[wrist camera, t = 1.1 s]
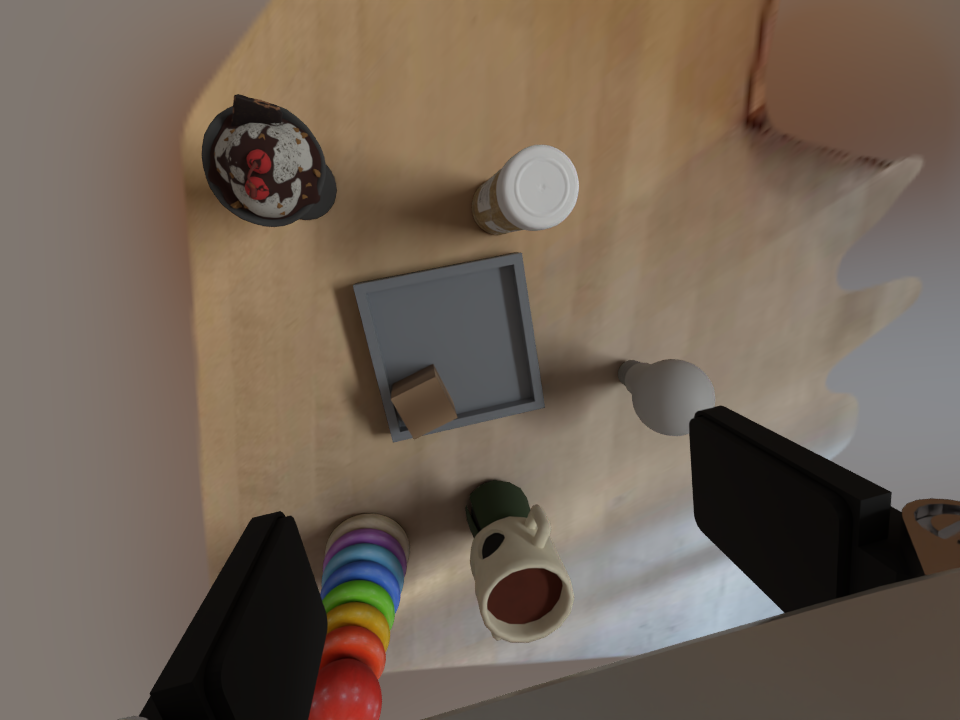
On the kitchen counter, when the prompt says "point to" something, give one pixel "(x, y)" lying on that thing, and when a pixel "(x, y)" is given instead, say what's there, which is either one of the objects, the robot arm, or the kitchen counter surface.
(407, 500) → the kitchen counter surface
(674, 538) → the kitchen counter surface
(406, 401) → the walnut block
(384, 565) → the stacking toy
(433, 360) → the slate tray
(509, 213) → the sprinkles bottle
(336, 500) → the kitchen counter surface
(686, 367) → the lightbulb
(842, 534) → the robot arm
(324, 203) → the sundae
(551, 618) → the character mug
